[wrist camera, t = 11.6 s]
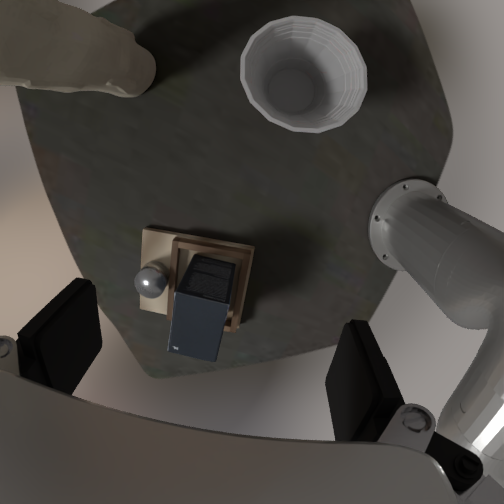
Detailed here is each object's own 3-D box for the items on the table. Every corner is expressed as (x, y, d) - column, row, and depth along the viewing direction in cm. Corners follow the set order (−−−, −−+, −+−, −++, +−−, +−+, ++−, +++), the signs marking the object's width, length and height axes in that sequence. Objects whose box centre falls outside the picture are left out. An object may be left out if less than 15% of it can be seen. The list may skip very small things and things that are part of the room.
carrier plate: (254, 246, 41) (254, 258, 37) (239, 324, 45) (237, 340, 41) (145, 227, 40) (134, 236, 36) (142, 305, 44) (133, 319, 41)
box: (224, 313, 43) (215, 364, 33) (184, 303, 43) (165, 351, 33) (237, 262, 40) (230, 305, 30) (193, 252, 40) (173, 291, 30)
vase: (100, 106, 34) (-110, 114, 6) (102, 46, 31) (-85, -11, 3) (162, 98, 34) (-42, 58, 6) (164, 35, 31) (3, -86, 3)
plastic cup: (354, 83, 33) (392, 65, 22) (303, 151, 36) (323, 159, 25) (280, 31, 31) (288, -9, 20) (227, 99, 34) (212, 84, 23)
